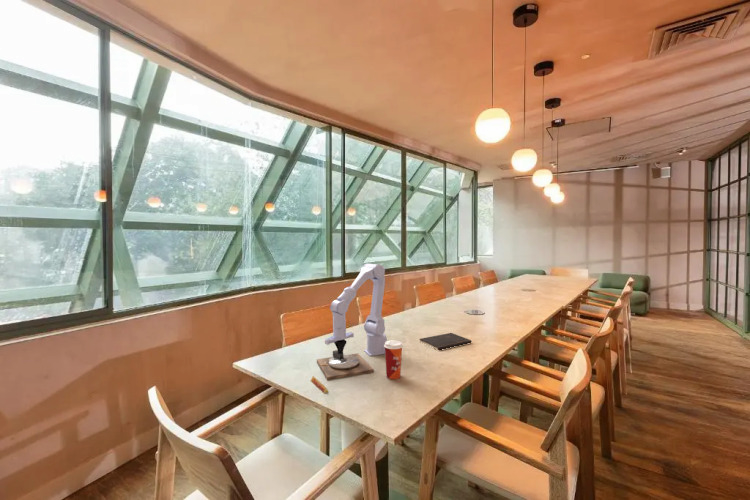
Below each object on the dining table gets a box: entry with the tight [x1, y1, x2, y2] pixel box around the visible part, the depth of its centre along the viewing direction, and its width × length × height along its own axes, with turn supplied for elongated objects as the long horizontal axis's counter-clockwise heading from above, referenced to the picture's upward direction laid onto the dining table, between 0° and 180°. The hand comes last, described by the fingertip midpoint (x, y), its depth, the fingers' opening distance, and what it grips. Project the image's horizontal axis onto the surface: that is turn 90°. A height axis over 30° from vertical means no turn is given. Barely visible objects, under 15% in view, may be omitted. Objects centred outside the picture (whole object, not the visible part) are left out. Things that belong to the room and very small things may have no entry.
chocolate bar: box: [310, 375, 329, 394], centre depth 122 cm, size 3×12×2 cm, turn 34°
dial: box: [329, 349, 359, 370], centre depth 140 cm, size 13×14×4 cm
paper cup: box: [384, 339, 404, 380], centre depth 130 cm, size 8×8×14 cm
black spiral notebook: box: [419, 332, 472, 351], centre depth 172 cm, size 16×23×2 cm
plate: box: [316, 353, 374, 381], centre depth 140 cm, size 20×20×1 cm
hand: (340, 356), depth 144 cm, fingers closed, pressing on dial
